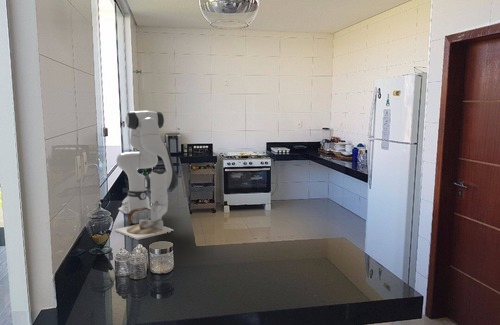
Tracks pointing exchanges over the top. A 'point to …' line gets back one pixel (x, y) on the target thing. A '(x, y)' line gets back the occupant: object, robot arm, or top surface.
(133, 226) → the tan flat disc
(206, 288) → the top surface
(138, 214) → the bread slice
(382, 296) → the top surface
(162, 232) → the white flat square board
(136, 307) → the top surface
